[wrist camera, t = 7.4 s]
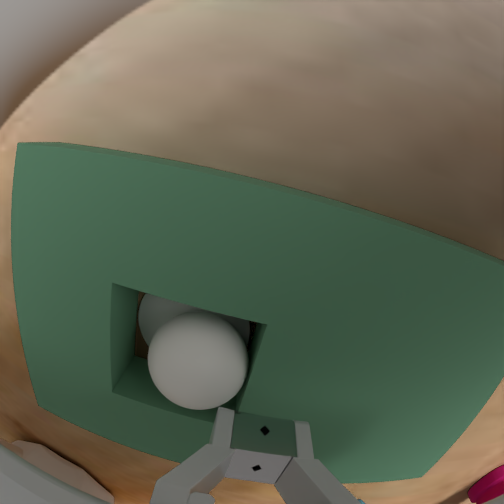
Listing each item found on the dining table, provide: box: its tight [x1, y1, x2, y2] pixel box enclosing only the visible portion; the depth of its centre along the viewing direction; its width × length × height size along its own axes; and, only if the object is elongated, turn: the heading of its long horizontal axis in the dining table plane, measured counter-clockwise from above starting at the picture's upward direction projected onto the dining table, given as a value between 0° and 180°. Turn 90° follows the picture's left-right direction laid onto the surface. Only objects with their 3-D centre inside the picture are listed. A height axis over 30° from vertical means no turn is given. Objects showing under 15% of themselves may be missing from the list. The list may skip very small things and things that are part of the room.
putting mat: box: [11, 142, 504, 483], centre depth 12 cm, size 14×24×3 cm, turn 76°
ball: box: [148, 311, 249, 410], centre depth 11 cm, size 4×4×4 cm
